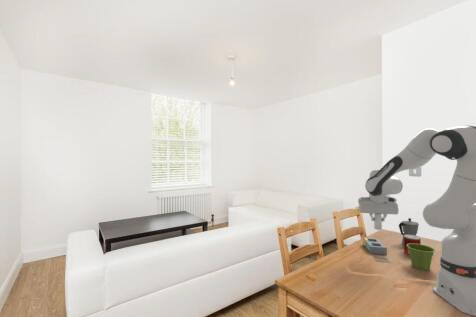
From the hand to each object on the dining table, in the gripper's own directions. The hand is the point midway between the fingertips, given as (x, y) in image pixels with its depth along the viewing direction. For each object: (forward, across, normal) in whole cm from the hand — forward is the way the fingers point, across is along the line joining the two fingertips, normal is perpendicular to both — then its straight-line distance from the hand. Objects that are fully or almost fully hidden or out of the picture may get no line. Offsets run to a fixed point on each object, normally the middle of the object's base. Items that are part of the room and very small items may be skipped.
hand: (377, 221), depth 134 cm
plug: (+5, 0, 0) cm, 5 cm away
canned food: (+22, +21, +9) cm, 32 cm away
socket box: (+22, +2, +12) cm, 25 cm away
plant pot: (+22, +17, -10) cm, 29 cm away
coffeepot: (+22, +27, +26) cm, 44 cm away
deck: (+22, 0, -3) cm, 22 cm away
